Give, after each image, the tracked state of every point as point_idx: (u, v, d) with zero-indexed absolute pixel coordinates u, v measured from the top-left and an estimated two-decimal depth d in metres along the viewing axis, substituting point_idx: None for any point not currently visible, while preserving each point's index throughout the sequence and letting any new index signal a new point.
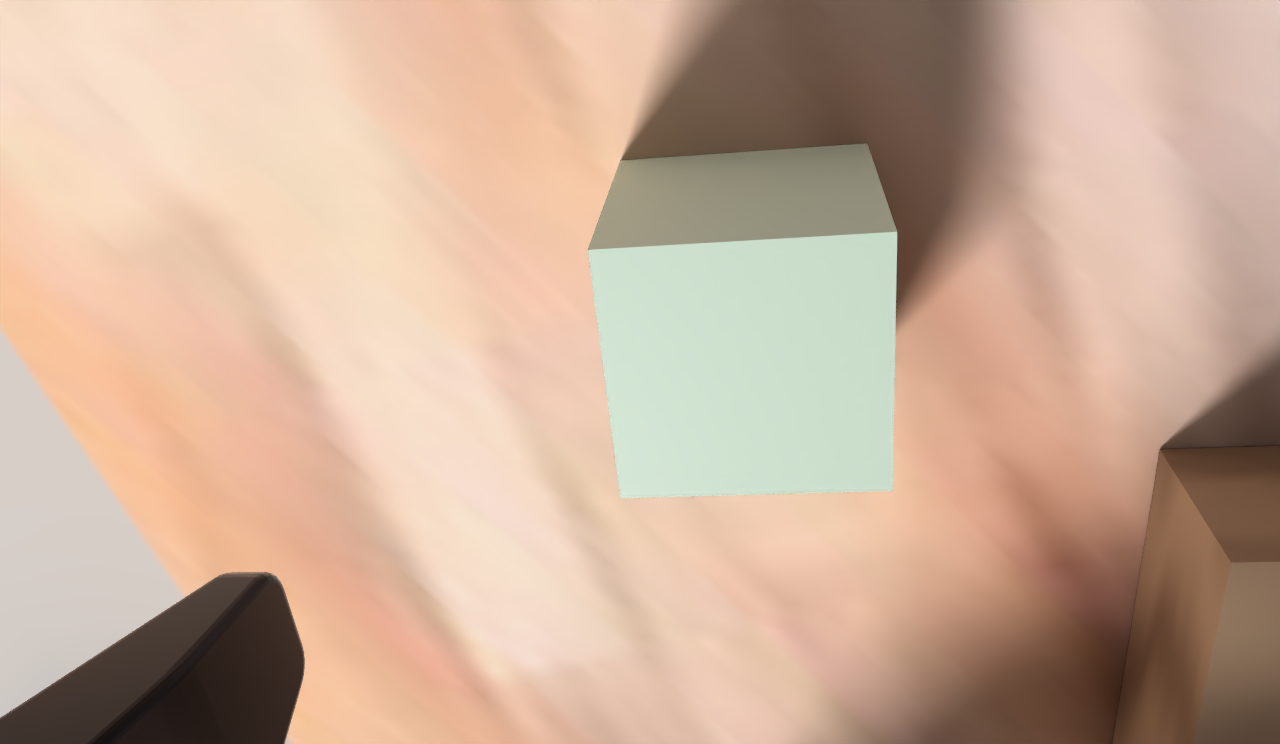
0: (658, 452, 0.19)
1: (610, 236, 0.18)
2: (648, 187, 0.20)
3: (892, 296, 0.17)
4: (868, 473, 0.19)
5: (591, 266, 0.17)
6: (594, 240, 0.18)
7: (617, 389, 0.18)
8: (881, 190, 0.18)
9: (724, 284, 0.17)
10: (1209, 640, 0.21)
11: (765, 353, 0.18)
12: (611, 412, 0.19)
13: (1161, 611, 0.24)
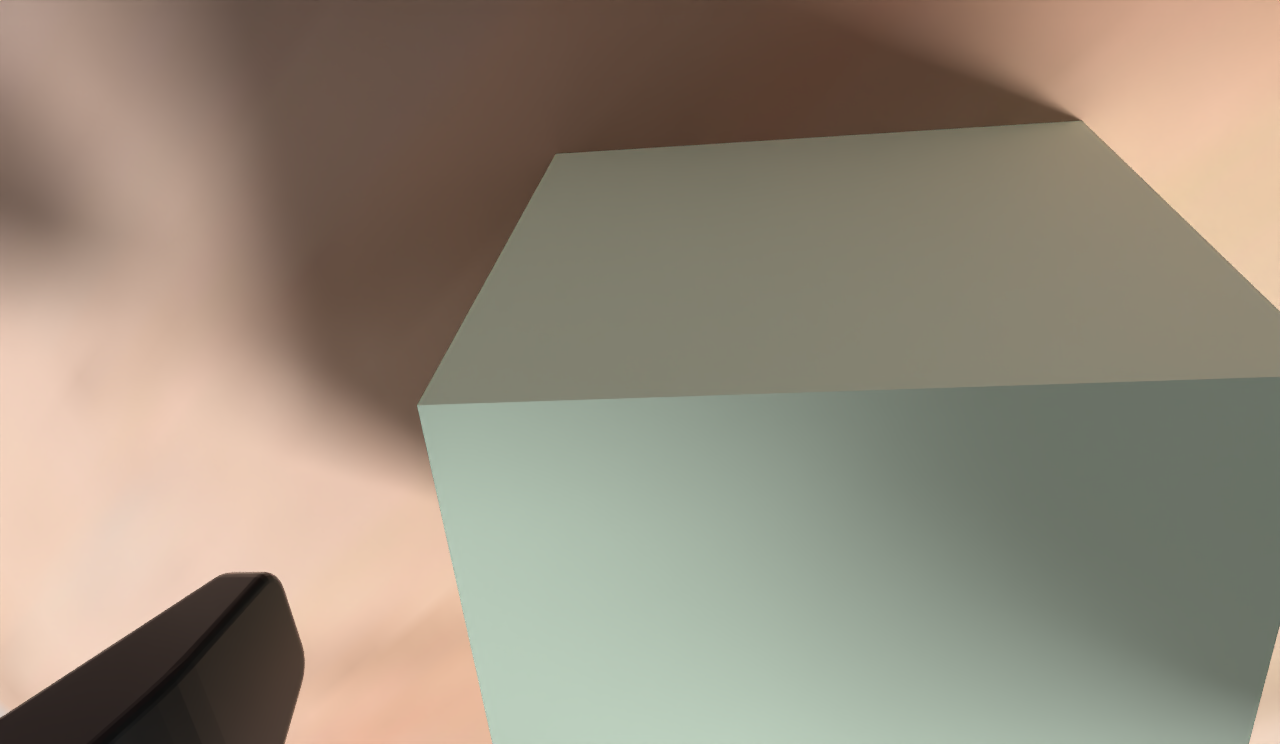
0: None
1: None
2: None
3: (611, 405, 0.06)
4: (1249, 445, 0.06)
5: None
6: None
7: None
8: (493, 271, 0.08)
9: None
10: None
11: (787, 679, 0.07)
12: None
13: None
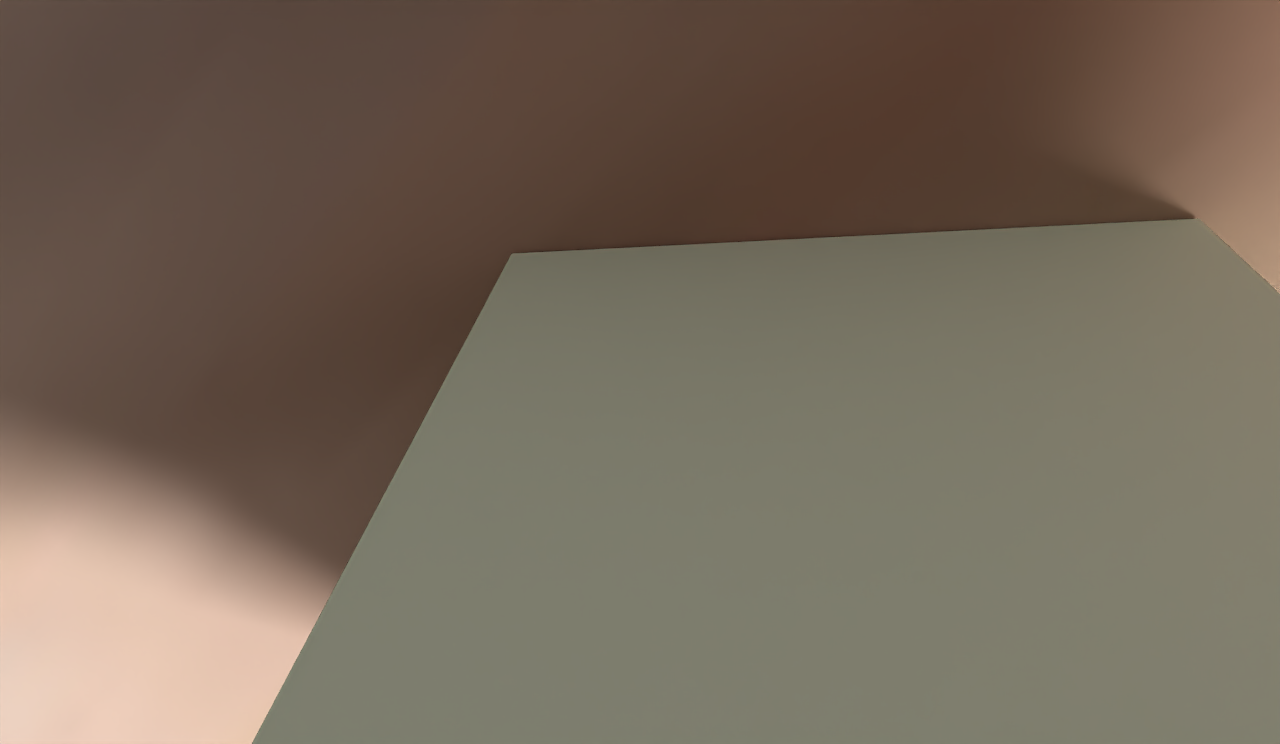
0: None
1: None
2: None
3: None
4: None
5: None
6: None
7: None
8: (399, 473, 0.05)
9: None
10: None
11: None
12: None
13: None
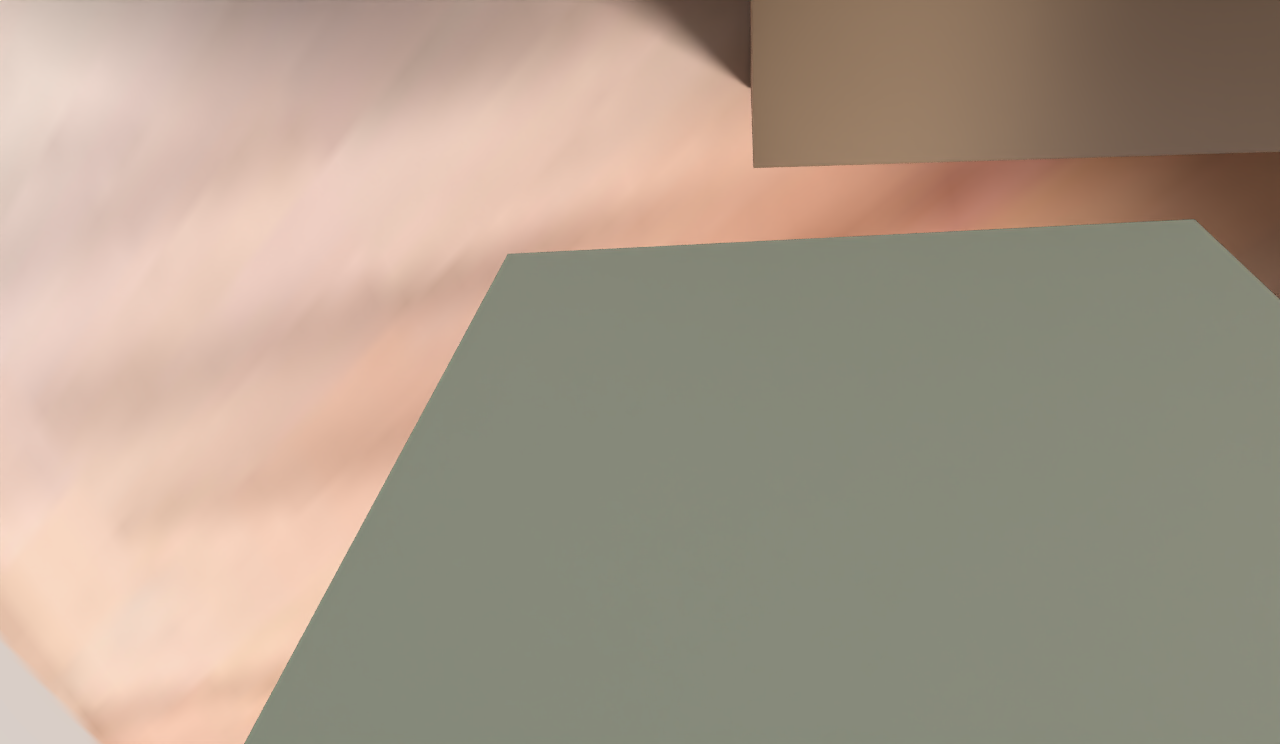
0: None
1: None
2: None
3: None
4: None
5: None
6: None
7: None
8: (393, 474, 0.05)
9: None
10: (926, 156, 0.13)
11: None
12: None
13: None
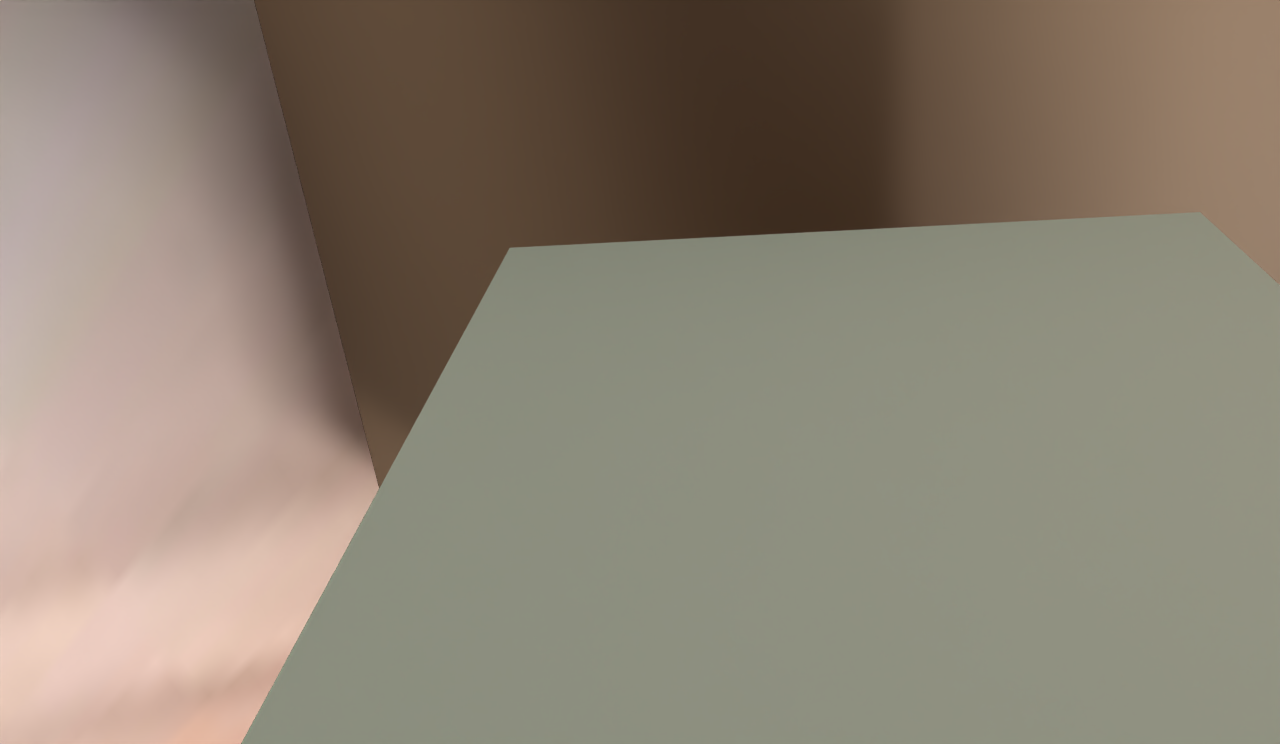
0: None
1: None
2: None
3: None
4: None
5: None
6: None
7: None
8: (395, 466, 0.05)
9: None
10: None
11: None
12: None
13: None
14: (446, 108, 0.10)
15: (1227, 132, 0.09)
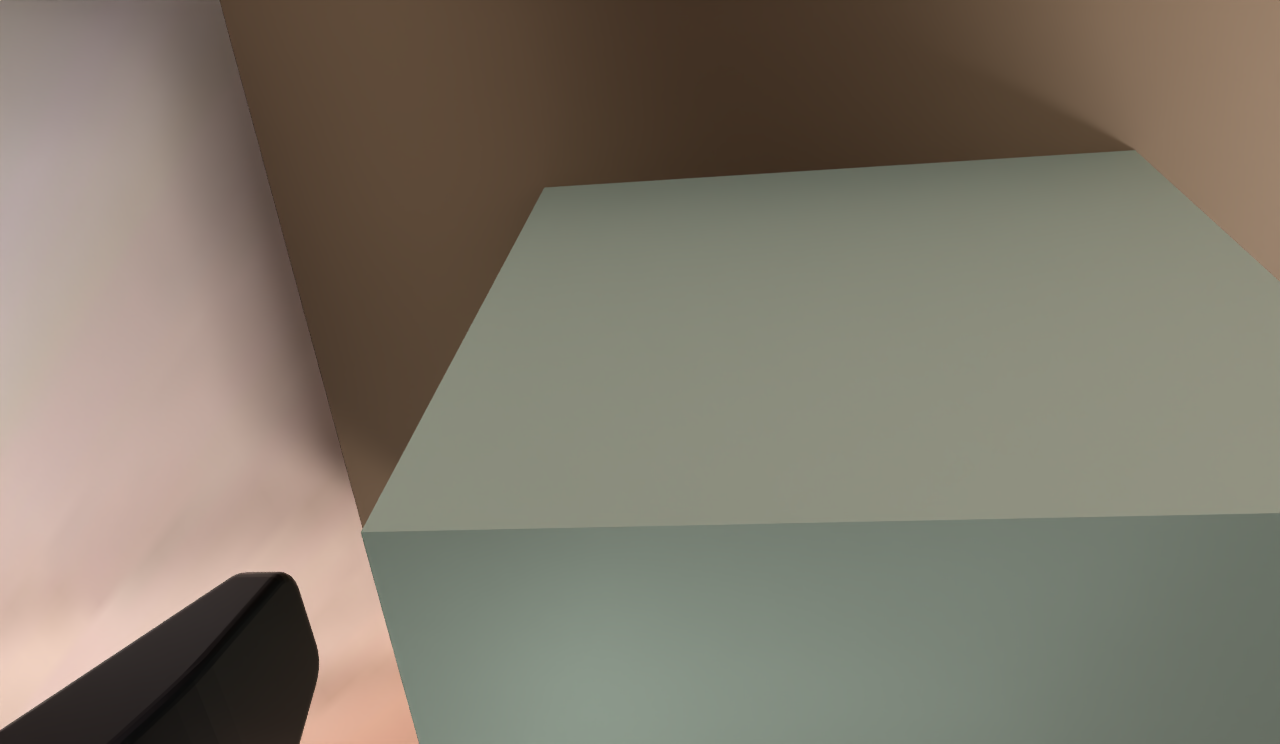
0: None
1: None
2: None
3: (600, 533, 0.05)
4: None
5: None
6: None
7: None
8: (465, 341, 0.07)
9: None
10: None
11: None
12: None
13: None
14: (431, 133, 0.09)
15: (1267, 160, 0.09)
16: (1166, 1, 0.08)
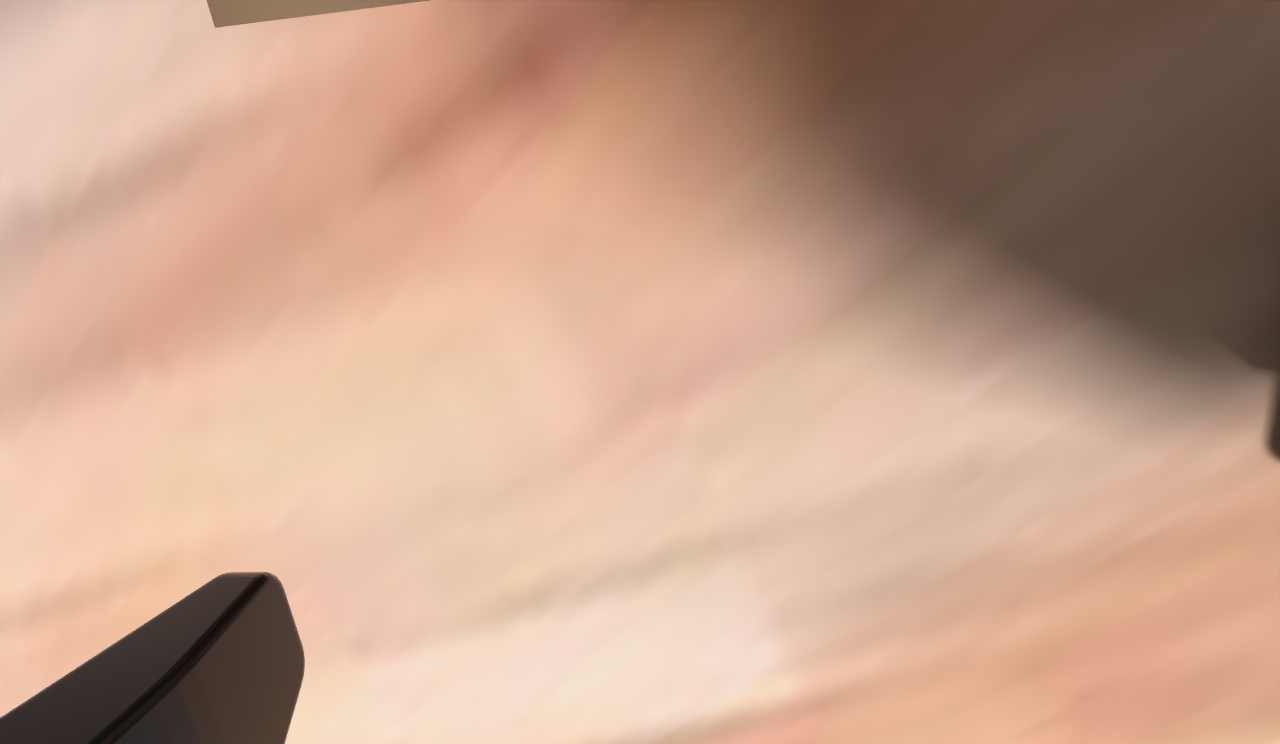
0: None
1: None
2: None
3: None
4: None
5: None
6: None
7: None
8: None
9: None
10: (375, 4, 0.14)
11: None
12: None
13: None
14: None
15: None
16: None
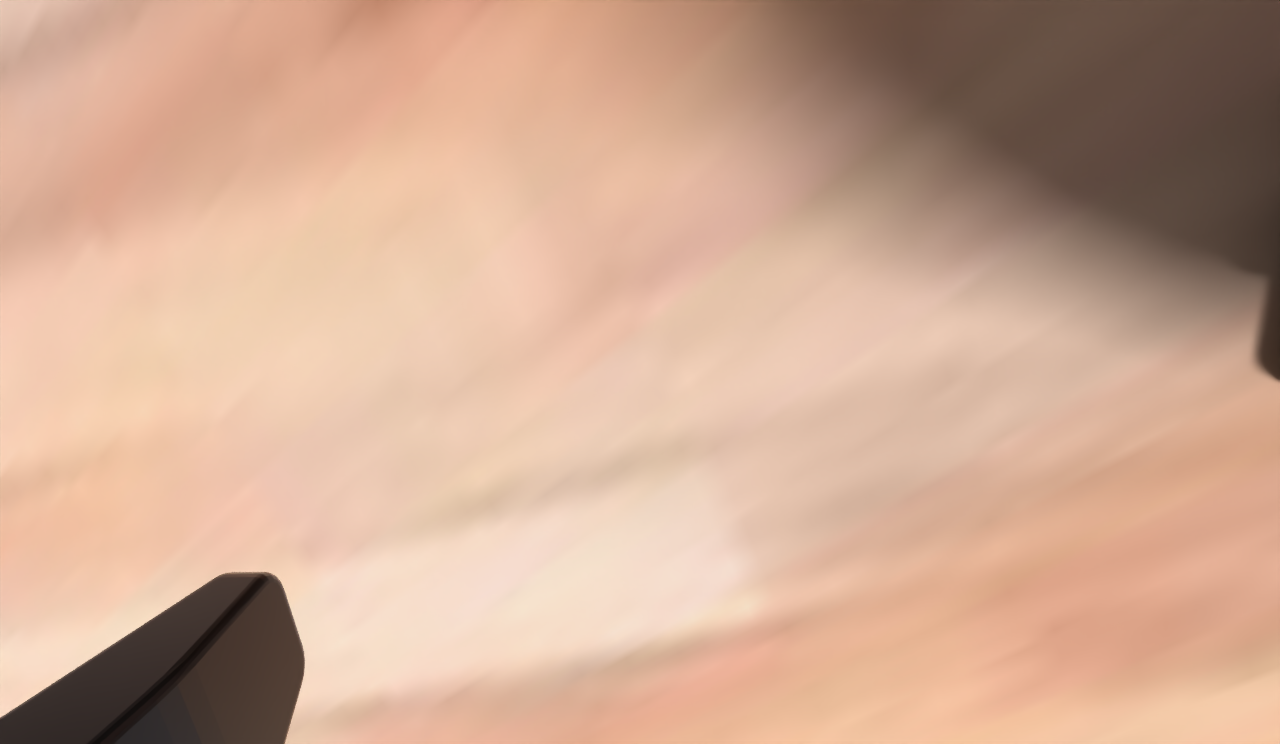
0: None
1: None
2: None
3: None
4: None
5: None
6: None
7: None
8: None
9: None
10: None
11: None
12: None
13: None
14: None
15: None
16: None
